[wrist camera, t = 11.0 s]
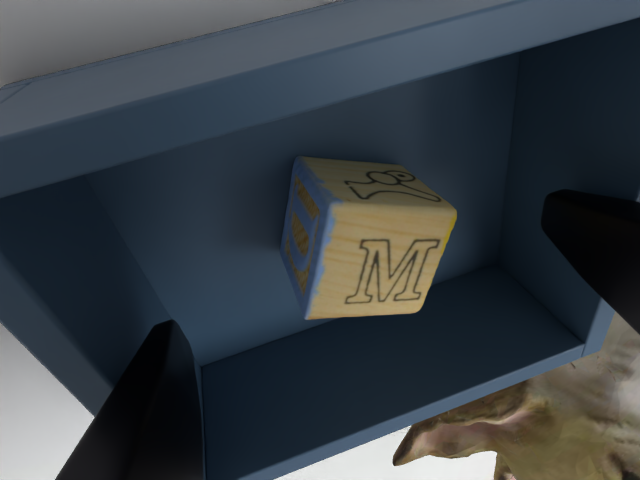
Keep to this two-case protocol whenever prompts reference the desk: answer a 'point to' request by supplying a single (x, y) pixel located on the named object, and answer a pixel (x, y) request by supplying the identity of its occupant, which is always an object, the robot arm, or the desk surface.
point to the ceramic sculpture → (550, 420)
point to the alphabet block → (361, 238)
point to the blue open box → (272, 197)
